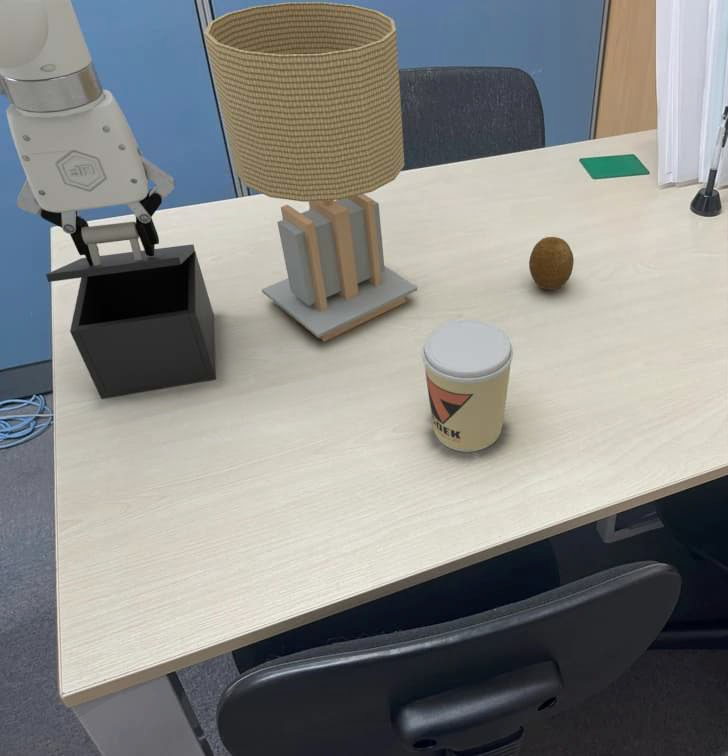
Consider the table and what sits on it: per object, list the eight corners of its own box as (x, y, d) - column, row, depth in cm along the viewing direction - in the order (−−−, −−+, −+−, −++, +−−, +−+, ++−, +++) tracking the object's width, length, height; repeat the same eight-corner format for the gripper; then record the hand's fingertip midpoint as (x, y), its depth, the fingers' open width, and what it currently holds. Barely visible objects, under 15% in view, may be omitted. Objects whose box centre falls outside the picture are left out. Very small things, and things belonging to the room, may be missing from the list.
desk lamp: (358, 250, 108) (328, -7, 85) (442, 306, 98) (434, 31, 75) (241, 299, 97) (170, 21, 74) (321, 367, 87) (268, 70, 64)
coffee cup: (410, 420, 81) (404, 337, 73) (477, 388, 85) (478, 306, 77) (457, 470, 75) (455, 386, 67) (525, 434, 80) (532, 351, 72)
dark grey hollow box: (216, 379, 85) (195, 312, 79) (101, 399, 82) (69, 331, 75) (213, 314, 95) (195, 250, 88) (110, 329, 91) (83, 264, 85)
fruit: (536, 271, 105) (540, 223, 100) (576, 281, 103) (582, 233, 98) (521, 293, 101) (524, 243, 96) (562, 304, 99) (567, 254, 94)
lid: (181, 264, 75) (169, 218, 73) (47, 282, 72) (33, 234, 70) (195, 250, 88) (186, 211, 87) (83, 264, 85) (71, 224, 83)
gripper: (-61, 112, 61) (31, 286, 73) (153, 91, 65) (206, 259, 77) (-43, 80, 66) (41, 248, 78) (154, 63, 70) (204, 225, 82)
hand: (122, 252), depth 78 cm, fingers closed on lid, 5 cm apart
